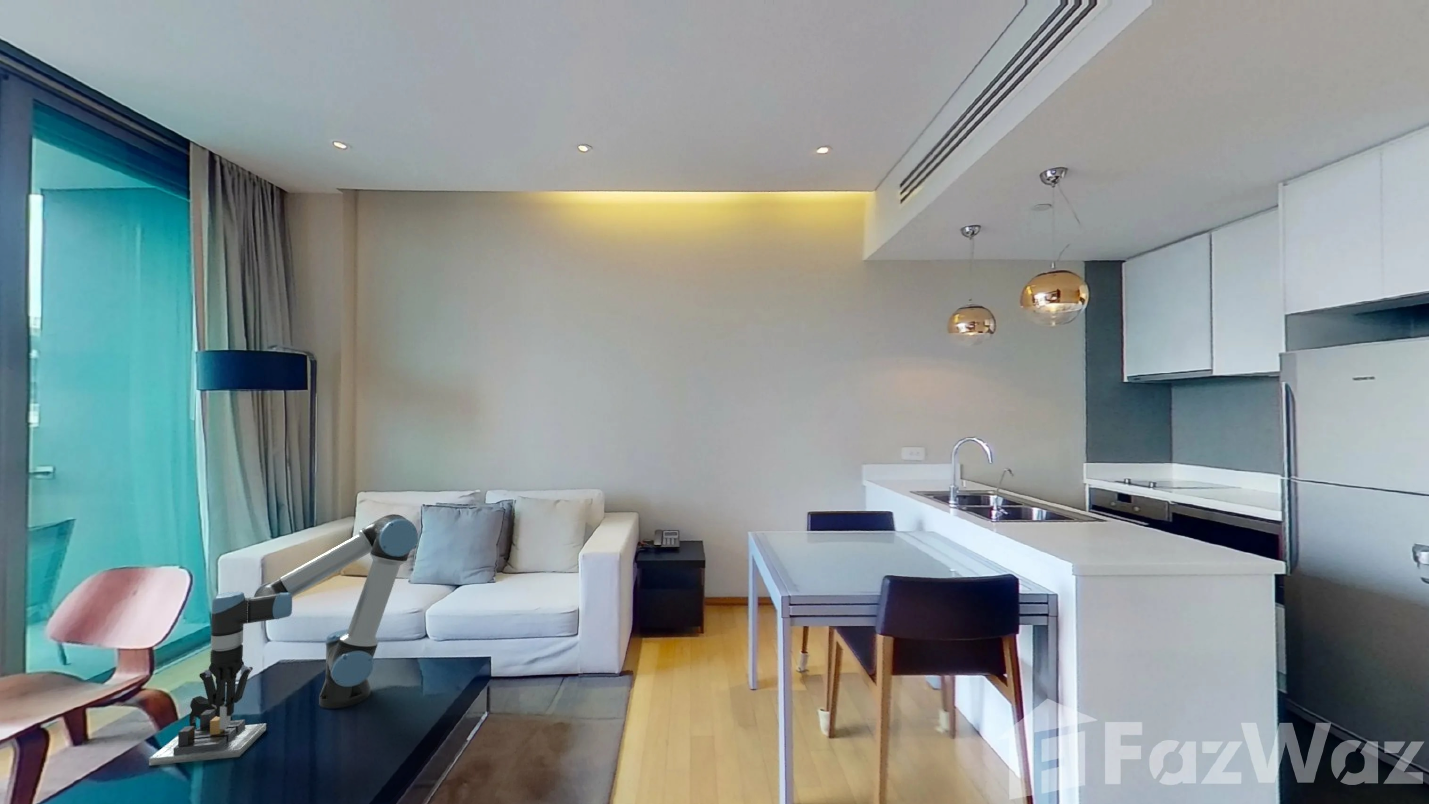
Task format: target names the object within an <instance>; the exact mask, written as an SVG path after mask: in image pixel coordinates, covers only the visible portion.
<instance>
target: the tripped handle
mask: <svg viewBox="0 0 1429 804" xmlns="http://www.w3.org/2000/svg"><path fill="white" fill-rule="evenodd" d="M219 728H220V717H217V716H216V717H215V718H213V719H212V720H211V721H210V735H214V734H220V733H221V732H222V731H223V730H224V729H219Z"/></svg>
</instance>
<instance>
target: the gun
mask: <svg viewBox="0 0 1429 804" xmlns="http://www.w3.org/2000/svg"><path fill="white" fill-rule="evenodd" d="M189 708H190V709H191V711H190V714H189V720H188V721H189V722H188V723H189V726H197V724H196V723H197V722H196V720H197V719H199V720H200V715H201V714H202V713H203V712H204V711H206V710H213V709H215V717H216V716H217V706H216V705H209V702H208V698H207V697H204V696H202V695H199V696H195V697H193V698H192V700H191V701H190V705H189ZM230 721H234V719H233V717H232V716H231V719H230Z"/></svg>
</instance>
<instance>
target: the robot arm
mask: <svg viewBox="0 0 1429 804" xmlns="http://www.w3.org/2000/svg"><path fill="white" fill-rule="evenodd" d="M418 535H419V533H418V530H417V527H416V526H415V524H414V523H413V521H411V520H409V519H407V518H406V517H404V516H403V515H400V514H396V513H395V514H387V515H384V516H382V517H380V518H378V519H377V520H375V521H374V522H371V523H370V524H368V525H367V526H365V527H363V528H361V529H360V530H359V532H358V534H357V535H355V536H352V537H351V538H349V539H347V540H345V541H344V542H342V543H340V544H339V545H336V546H335V547H333V548H330V549H329V550H327V551H326V552H324V553H322V554H321V555H319V556H317V557H315V558H313V559H312V560H310V561H308V562H306V563H304V564H302V565H300V566H298V567H297V568H295V569H293V570H291V571H290V572H288V573H286V574H285V575H283V576H281V577H278V578H277V579H275V580H274V581H272V582H271V581H268V582H266V583H265V582H264V583H263V584H261V585H260V586H259V587H258V588H257V589H256V591H255V593H254V596H253V597H246V596H245V593H244V592H243V591H230V592H229V591H228V592H224V593H220V594H218V595H215V596H214V597H213V599H212V602H211V603H212V604H211V615H210V617H211V619H210V622H211V626H210V629H211V630H210V631H211V632H210V649H211V650H210V660H209V661H210V665H209V666H208V669H205V670H204V671H202V672H201V673H199V676H198V677H199V678H200V679H201V680H202V683H203V686H204V690H205V694H206V699H208V702H209V705H216V706H217V717H220V728H219V729H226V728H227V727H228V726H229V725H230V719H231V717H232V715H234V712H235V704H237V703H238V702H240V700H241V699H242V698H243V696H244V692H245V689H246V687H247V686H246V685H247V682H248V678H249V675H250V674H251V672H252V671H253V669H254V668H253V667H252V666H249V667H248V666H246V665H245V664H244V659H243V656H244V653H243V652H244V644H243V642H244V626H245V625H246V624H252V623H254V624H255V623H258V622H266V621H272V620H280V619H284V618H289V617H290V616H291V615H292V614H293V597H296V595H298V594H300V593H302V592H303V591H305V590H307V589H309V588H311V587H312V586H314V585H316V584H318V583H320V582H321V581H323V580H325V579H326V578H328V577H330V576H332V575H333V574H335V573H337V572H339V571H340V570H342V569H344V568H346V567H348V566H349V565H351V564H353V563H355V562H356V561H358V560H360V559H361V558H363V557H365V556H367V555H368V554H369V555H370V557H371V559H372V562H371V564H370V567H369V570H368V573H367V576H366V578H365V581H364V584H363V588H362V590H361V592H360V595H359V598H358V601H357V604H356V606H355V610H354V612H353V615H352V618H351V621H350V623H349V626H348V628H347V629H342V630H338V631H334V632H331V633H329V634H328V635H327V636H326V642H325V648H326V649H325V680H324V683H323V685H322V689H321V690H320V693H319V698H318V705H319V706H320V707H322V708H324V709H339V708H346V707H347V708H348V707H350V706H354V705H357V704H359V703H361V702H363V701H365V700H366V699H368V698H369V697H370V696H371V684H370V682H369V680H368V678H369V677H370V675H371V674H372V672H373V670H374V667H375V666H374V664H375V659H374V656H375V653H376V650H377V648H378V645H379V641H378V639H377V636H376V635H377V634H378V633H377V632H378V630H379V628H380V625H381V624H380V623H381V622H382V619H383V616H384V612H385V610H386V607H387V604H388V601H389V598H390V595H391V593H392V590H393V587H394V585H395V582H396V578H397V577H398V573H399V570H400V567H401V565H403V564H404V563H407V561H408V559H409V556H410V553H411V552H412V551H413V549H414V548H415V547H416V545H417V543H418V540H419V536H418ZM238 673H240V676H239V680H238V683H236V682H237V681H236V679H237V677H238V676H237V675H238ZM213 676H214V677H213ZM214 678H215V680H214ZM236 685H237V686H236Z"/></svg>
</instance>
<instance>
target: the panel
mask: <svg viewBox="0 0 1429 804" xmlns="http://www.w3.org/2000/svg"><path fill="white" fill-rule="evenodd" d="M213 718H215V709H213V710H206V711H204V712H203V713H202V714H201V715H200V719H199V726H198V727H197V728H196V727H195V726H190V725H188V726H184V727H183V728H182V729H180V730H179V731H177V732H178V734H177V735H176V736H175V737H174V738H173V739H172V740H170V741H169V742H168V743H166V745H164V746H163V747H162V748H161V749H159V750H158V751H157V752H155V753H154V754H153V755H152V756H150V757H149V759H148V760H149V761H148V762H149V763H148V766H160V765H170V764H178V763H188V762H189V763H190V762H200V761H207V760H218V759H219V760H220V759H221V760H222V759H229V758H239V757H241V755H242V754H244V752H245V751H247V750H248V749H249V748H250V747H251V746H252V745H253V744H254V743H255V742H256V740H257V739H258V738H260V736H261V735H262V734H263V733H264V732H266V731H267V723H256V724H246V719H236V720H235V719H233V721H230V725H229V726H228V727H227V728H226V729H224V730H223V731H222V732H221V733H220V734H214V735H210V721H211V720H212V719H213Z"/></svg>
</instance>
